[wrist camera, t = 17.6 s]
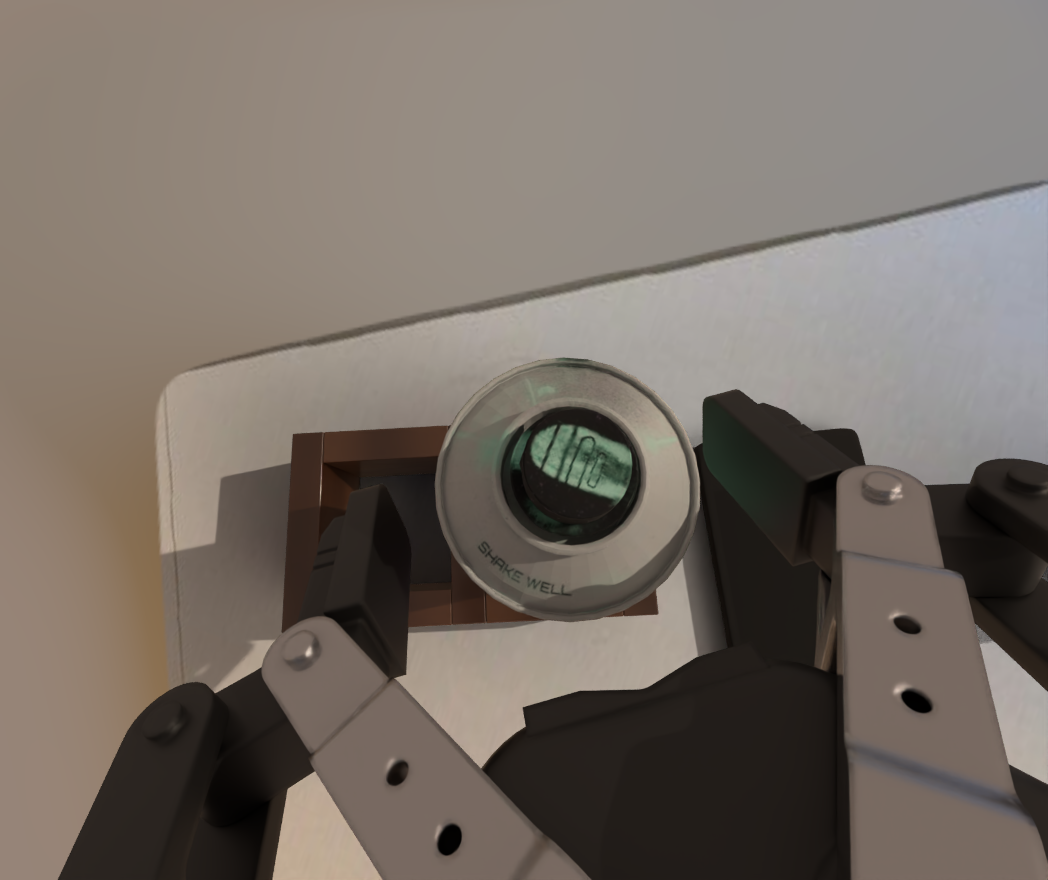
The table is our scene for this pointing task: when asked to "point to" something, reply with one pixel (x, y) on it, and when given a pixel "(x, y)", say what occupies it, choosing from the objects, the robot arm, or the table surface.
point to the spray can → (567, 489)
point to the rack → (322, 494)
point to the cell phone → (763, 571)
